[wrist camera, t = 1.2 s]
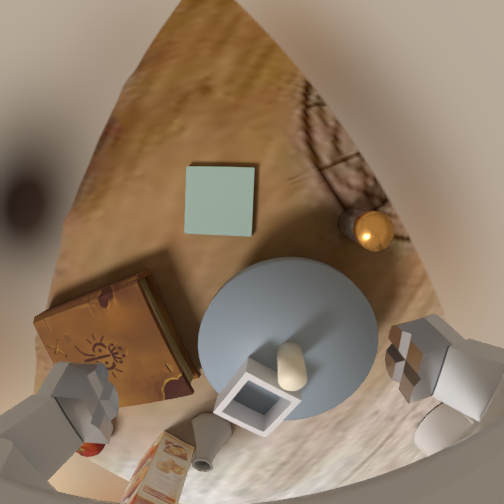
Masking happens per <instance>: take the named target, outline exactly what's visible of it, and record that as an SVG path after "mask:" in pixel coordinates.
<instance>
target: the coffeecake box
mask: <svg viewBox="0 0 504 504" xmlns="http://www.w3.org/2000/svg"><path fill="white" fill-rule="evenodd" d="M194 450H195V447H193V446H191V445H189V444H187V443H185V442H183V441H181V440H180V439H178V438H176V437H175V436H173V435H171V434H169V433H168V432H166V431H163V433H162V434H161V435H160V436H159V437H158V439H157V440H156V441H155V443H154V444H153V445H152V446H151V448H150V449H149V450H148V451H147V453H146V454H145V455H144V456H143V458H142V459H141V460H140V462H139V463H138V465H137V468H136V470H135V472H134V474H133V476H132V478H131V480H130V482H129V484H128V487H127V489H126V491H125V493H124V495H123V497H122V499H121V501H120V503H123V504H178V502H179V498H180V495H181V492H182V488H183V485H184V482H185V479H186V476H187V472H188V469H189V466H190V462H191V459H192V456H193V452H194Z"/></svg>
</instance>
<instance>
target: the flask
mask: <svg viewBox="0 0 504 504" xmlns="http://www.w3.org/2000/svg"><path fill="white" fill-rule="evenodd" d="M191 421H192V426H193V431H194V436H195V442H196V456H195V459H194V460H192V465H193V467H194V468H195V469H197V470H198V471H204V472H207V471H210V470H212V469H213V466H212V461H213V459H214V457H215V455H216V453H217V452H218V451H219V449H220V448H221V447H222V446H223V445H224V443H225V442H226V441H227V440H228V439H229V438H230V437H231V436H232V429H231V423H230V422H229V421H227V420H226V419H224V418H222V417H220V416H218V415H216V414H215V413H202V414H200V415H198V416H197V417H195V418H193V419H191Z"/></svg>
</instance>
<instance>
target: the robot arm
mask: <svg viewBox="0 0 504 504" xmlns="http://www.w3.org/2000/svg"><path fill="white" fill-rule="evenodd" d="M389 339H390V341H391V342H392V344H391V345H390V346H389V348H388V349H387V350H386V357H385V362H386V369H387V371H388V374H389V375H390V377H391V378H392V380H394V381H397V382H399V383H400V386H399V390H400V392H401V393H402V395H403V396H404V397H405V399H406V400H407V402H408V403H412V402H415V401H418V400H421V399H424V398H427V397H430V396H432V395H433V397H434V398H436V399H438V400H439V401H441V402H443V403H442V404H441V405H439V406H438V407H436V408H435V409H434V410H433V411H431V412H430V413H429V414H428V415H427V416H426V417H425V418H424V420H423V421H422V422H421V423H420V425H419V427H418V428H417V430H416V433H415V436H414V443H415V445H416V446H417V447H418V448H419V449H420V450H421V451H422V452H423V453H424V454H425V455H426V456H427V457H425V458H423V459H421V460H418V461H416V462H414V463H411V464H409V465H406V466H404V467H401V468H399V469H396V470H393V471H391V472H388V473H385V474H382V475H379V476H376V477H373V478H370V479H367V480H364V481H361V482H357V483H354V484H350V485H347V486H343V487H340V488H336V489H332V490H328V491H324V492H319V493H315V494H310V495H305V496H300V497H295V498H289V499H283V500H277V501H270V502H263V503H254V504H504V349H502V348H499V347H496V346H493V345H489V344H486V343H482V342H479V341H476V340H472V339H467V340H465V339H464V338H463V337H462V336H461V335H460V334H459V333H457V332H456V331H455V330H454V329H453V328H452V327H451V326H450V325H448V324H447V323H446V322H445V321H444V320H443V319H442V318H440V317H439V316H438V315H435V314H432V315H429V316H425V317H422V318H420V319H417V320H413V321H410V322H406V323H402V324H398V325H394V326H392V327H391V329H390V332H389ZM108 375H109V373H108V370H107V368H106V366H105V365H104V364H103V363H101V362H64V361H59V362H57V363H55V365H54V366H53V368H52V369H51V371H50V373H49V374H48V376H47V378H46V379H45V381H44V383H43V384H42V386H41V388H40V389H39V391H38V393H37V394H36V395H31V396H30V397H28V398H27V399H25V400H24V401H22V402H20V403H19V404H17V405H16V406H14V407H13V408H11V409H9V410H8V411H6V412H5V413H4V414H2V415H0V504H123V503H114V502H108V501H101V500H95V499H90V498H84V497H79V496H74V495H70V494H65V493H61V492H58V491H57V490H56V489H55V488H54V487H53V486H52V485H51V484H50V483H49V482H48V480H49V479H50V478H51V477H52V476H53V475H54V473H55V472H56V471H57V470H58V469H59V468H60V467H61V466H62V465H63V464H64V463H65V462H66V461H67V460H68V459H69V458H70V457H71V456H72V455H73V454H74V453H75V452H76V451H77V450H78V449H79V448H80V447H81V446H82V445H83V442H86V443H100V444H109V441H110V438H111V434H112V431H113V425H112V423H111V420H112V419H114V418H115V417H116V416H117V413H118V410H119V398H118V394H117V391H116V388H115V386H114V385H113V384H112V383H111V382H109V381H108V380H107V378H108Z"/></svg>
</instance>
